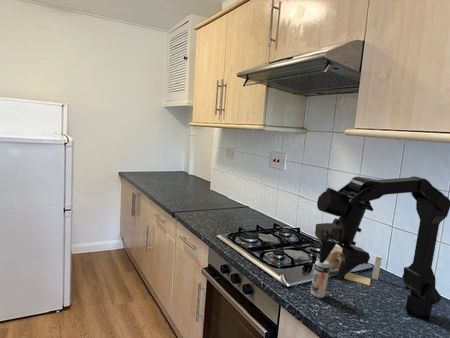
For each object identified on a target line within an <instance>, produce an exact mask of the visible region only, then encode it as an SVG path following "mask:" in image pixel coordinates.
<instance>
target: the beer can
mask: <svg viewBox="0 0 450 338" xmlns="http://www.w3.org/2000/svg"><path fill="white" fill-rule="evenodd" d="M319 260H320V258H319V259H316V260H315V262H314V267H313V273H312V274H313V275H312V282H311V288H310V293H311V295H313V297H315V298H321V299H323V298H325V296H326V294H327V293H326V292H327V287H328V279H329V274H330V272H329V269H330V265H329V262H328V261H327V260H325V261H324V262H323V263H320V262H319Z"/></svg>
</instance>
